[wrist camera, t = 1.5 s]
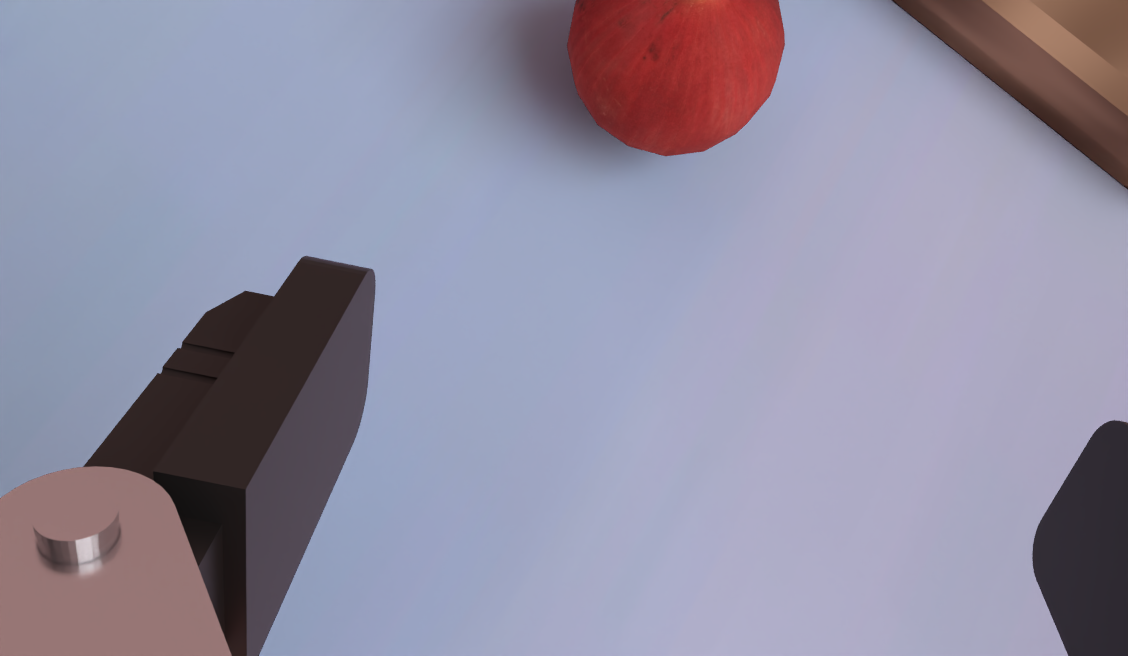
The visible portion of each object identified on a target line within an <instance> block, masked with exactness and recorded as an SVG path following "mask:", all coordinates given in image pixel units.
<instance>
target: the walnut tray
mask: <svg viewBox="0 0 1128 656" xmlns="http://www.w3.org/2000/svg"><path fill="white" fill-rule="evenodd" d="M893 1H894V2H895V3H897V4H898V5H899V6H900V7H902V8H903V9H904V10H905V11H907V12H908V13H909V14H910V15H912V16H913V17H914V18H915V19H917V20H918V21H919V22H920V23H922V24H923V25H924V26H925V27H927V28H928V29H929V30H930V31H932V32H933V33H934V34H935V35H936V36H938V37H939V38H940V39H941V40H943V41H944V42H945V43H946V44H948V45H949V46H950V47H951V48H953V49H954V50H955V51H956V52H958V53H959V54H960V55H961V56H963V57H964V58H965V59H966V60H968V61H969V62H970V63H971V64H973V65H974V66H975V67H976V68H978V69H979V70H980V71H981V72H983V73H984V74H985V75H986V76H988V77H989V78H990V79H991V80H993V81H994V82H995V83H996V84H998V85H999V86H1000V87H1001V88H1003V89H1004V90H1005V91H1006V92H1008V93H1009V94H1010V95H1011V96H1013V97H1014V98H1015V99H1016V100H1018V101H1019V102H1020V103H1021V104H1023V105H1024V106H1025V107H1026V108H1028V109H1029V110H1030V111H1031V112H1033V113H1034V114H1035V115H1036V116H1038V117H1039V118H1040V119H1041V120H1043V121H1044V122H1045V123H1046V124H1048V125H1049V126H1050V127H1051V128H1053V129H1054V130H1055V131H1056V132H1058V133H1059V134H1060V135H1061V136H1063V137H1064V138H1065V139H1066V140H1068V141H1069V142H1070V143H1071V144H1073V145H1074V146H1075V147H1076V148H1078V149H1079V150H1080V151H1081V152H1083V153H1084V154H1085V155H1086V156H1088V157H1089V158H1090V159H1091V160H1092V161H1094V162H1095V163H1096V164H1097V165H1099V166H1100V167H1101V168H1102V169H1104V170H1105V171H1106V172H1107V173H1109V174H1110V175H1111V176H1112V177H1114V178H1115V179H1116V180H1117V181H1119V182H1120V183H1121V184H1122V185H1124V186H1125V187H1126V188H1127V189H1128V0H893Z"/></svg>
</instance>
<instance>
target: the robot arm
mask: <svg viewBox="0 0 1128 656" xmlns="http://www.w3.org/2000/svg"><path fill="white" fill-rule="evenodd" d="M374 300H375V274H374V271H373V270H372V269H369V268H364V267H359V266H354V265H349V264H344V263H339V262H334V261H329V260H324V259H319V258H314V257H309V256H304V257H302V258H301V259H300V261H299V262H298V263H297V265H296V266H295V267H294V269H293V270H292V272H291V273H290V275H289V276H288V278H287V279H286V280H285V282H284V283H283V285H282V286H281V288H280V289H279V290H278V292H277V293H276V295H275V296H269V295H264V294H259V293H254V292H249V291H244V292H243V293H241V294H239V295H237V296H235V297H233V298H232V299H230V300H228V301H226V302H224V303H222V304H220V305H219V306H217V307H215V308H213V309H211V310H209V311H208V312H206V313H205V314H204V315H203V317H202V318H201V319H200V320H199V322H198V323H197V324H196V326H195V327H194V328H193V329H192V331H191V332H190V333H189V334H188V336H187V337H186V338H185V339H184V341H183V342H182V347H181V349H180V348H177V350H176V351H175V352H174V353H173V355H172V356H171V357H170V358H169V360H168V361H167V362H166V363H165V365H164V366H163V370H162V373H161V374H158V373H157V375H156V376H155V377H154V379H153V380H152V381H151V382H150V384H149V385H148V386H147V387H146V389H145V390H144V391H143V392H142V394H141V395H140V396H139V397H138V399H137V400H136V401H135V402H134V404H133V405H132V406H131V408H130V409H129V410H128V411H127V413H126V414H125V415H124V416H123V418H122V419H121V420H120V421H119V423H118V424H117V425H116V426H115V428H114V429H113V430H112V431H111V433H110V434H109V435H108V437H107V438H106V439H105V440H104V442H103V443H102V444H101V445H100V447H99V448H98V449H97V450H96V452H95V453H94V454H93V455H92V457H91V458H90V459H89V460H88V462H87V463H86V464H85V466H84V467H79V468H72V469H66V470H61V471H57V472H54V473H50V474H46V475H43V476H41V477H38V478H36V479H33V480H30V481H28V482H26V483H24V484H22V485H20V486H19V487H17V488H15V489H13V490H12V491H10V492H9V493H7V494H6V495H4V496H3V497H1V498H0V656H259V654H260V651H261V649H262V647H263V645H264V643H265V640H266V638H267V636H268V634H269V631H270V629H271V627H272V625H273V622H274V620H275V618H276V616H277V613H278V611H279V609H280V607H281V604H282V602H283V600H284V598H285V595H286V593H287V591H288V589H289V586H290V584H291V582H292V580H293V577H294V575H295V573H296V571H297V568H298V566H299V564H300V562H301V559H302V557H303V555H304V553H305V550H306V548H307V546H308V544H309V541H310V539H311V537H312V535H313V532H314V530H315V528H316V526H317V523H318V521H319V519H320V517H321V514H322V512H323V510H324V508H325V505H326V503H327V501H328V499H329V496H330V494H331V492H332V490H333V487H334V485H335V483H336V481H337V479H338V476H339V474H340V472H341V470H342V467H343V465H344V463H345V461H346V458H347V456H348V454H349V452H350V449H351V447H352V445H353V443H354V440H355V438H356V435H357V432H358V429H359V426H360V422H361V418H362V414H363V410H364V405H365V400H366V394H367V387H368V375H369V363H370V350H371V337H372V325H373V312H374ZM1033 569H1034V573H1035V577H1036V580H1037V582H1038V585H1039V587H1040V589H1041V592H1042V594H1043V597H1044V599H1045V601H1046V604H1047V606H1048V608H1049V611H1050V613H1051V616H1052V618H1053V620H1054V623H1055V625H1056V627H1057V630H1058V632H1059V634H1060V637H1061V639H1062V642H1063V644H1064V646H1065V649H1066V651H1067V653H1068V656H1128V423H1127V422H1122V421H1115V420H1114V421H1109V422H1107V423H1105V424H1103V425H1102V426H1100V427H1099V428H1098V429H1097V430H1096V431H1095V433H1094V434H1093V435H1092V437H1091V438H1090V440H1089V442H1088V443H1087V445H1086V447H1085V448H1084V450H1083V452H1082V453H1081V455H1080V457H1079V458H1078V460H1077V461H1076V463H1075V465H1074V466H1073V468H1072V470H1071V471H1070V473H1069V475H1068V476H1067V478H1066V480H1065V481H1064V483H1063V485H1062V486H1061V488H1060V490H1059V491H1058V493H1057V495H1056V496H1055V498H1054V499H1053V501H1052V503H1051V504H1050V506H1049V508H1048V509H1047V511H1046V513H1045V514H1044V516H1043V518H1042V519H1041V521H1040V523H1039V526H1038V528H1037V531H1036V534H1035V538H1034V544H1033Z"/></svg>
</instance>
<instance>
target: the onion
mask: <svg viewBox="0 0 1128 656" xmlns="http://www.w3.org/2000/svg"><path fill="white" fill-rule="evenodd" d="M784 45H785V43H784V29H783V23H782V18H781V12H780V7H779V1H778V0H576V3H575V7H574V13H573V18H572V23H571V28H570V33H569V39H568V44H567V48H568V53H569V58H570V63H571V68H572V73H573V78H574V83H575V86H576V89H577V92H578V95H579V97H580V98H581V100H582V101H583V103H584V104H585V106H586V107H587V109H588V111H589V112H590V114H591V115H592V117H593V118H594V120H595V121H596V123H597V125H599V126H600V127H602V128H603V129H604V130H606V131H607V132H609V133H610V134H612V135H613V136H615V137H616V138H617V139H619V140H620V141H622V142H623V143H625V144H626V145H627V146H630V147H634V148H637V149H641V150H645V151H648V152H652V153H656V154H659V155H663V156H671V155H679V154H687V153H694V152H702V151H705V150H707V149H709V148H711V147H713V146H714V145H716V144H718V143H720V142H722V141H724V140H725V139H727V138H729V137H731V136H733V135H735V134H736V133H737V132H738V131H739V130H740V129H741V128H743V127H744V126H745V125H746V124H747V123H748V121H749V120H750V119H751V118H752V117H753V115H754V114H755V113H756V112H757V111H758V109H759V108H760V107H761V106H762V105H763V103H764V102H765V101H766V100H767V99H768V97H769V96H770V94H771V91H772V89H773V86H774V83H775V81H776V77H777V73H778V69H779V65H780V61H781V57H782V53H783V49H784Z"/></svg>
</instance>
